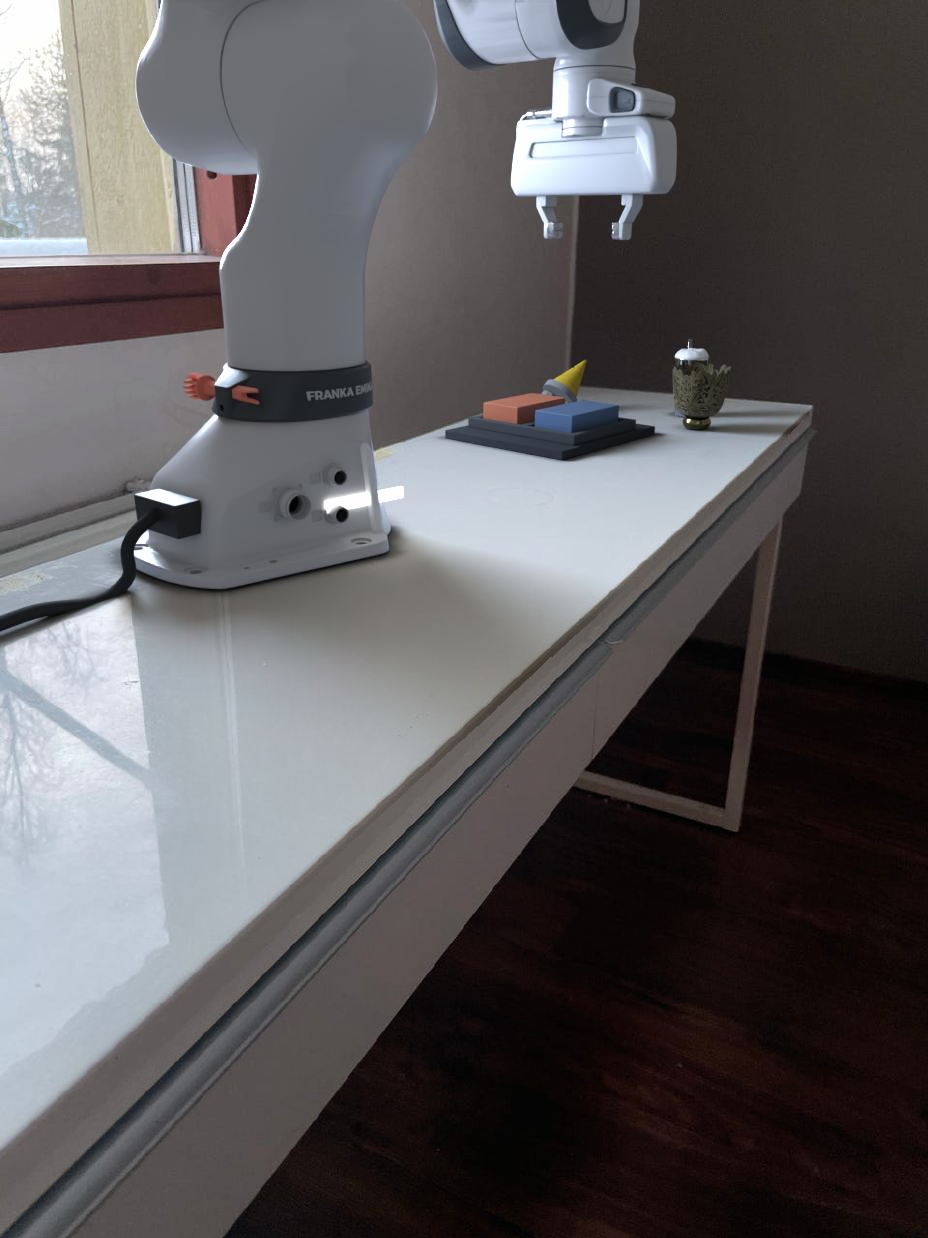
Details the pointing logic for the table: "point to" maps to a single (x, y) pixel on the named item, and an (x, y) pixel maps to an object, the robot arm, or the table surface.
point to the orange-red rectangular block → (519, 407)
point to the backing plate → (547, 436)
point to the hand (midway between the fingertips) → (586, 239)
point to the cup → (699, 393)
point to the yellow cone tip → (566, 384)
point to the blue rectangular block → (576, 416)
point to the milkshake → (690, 359)
